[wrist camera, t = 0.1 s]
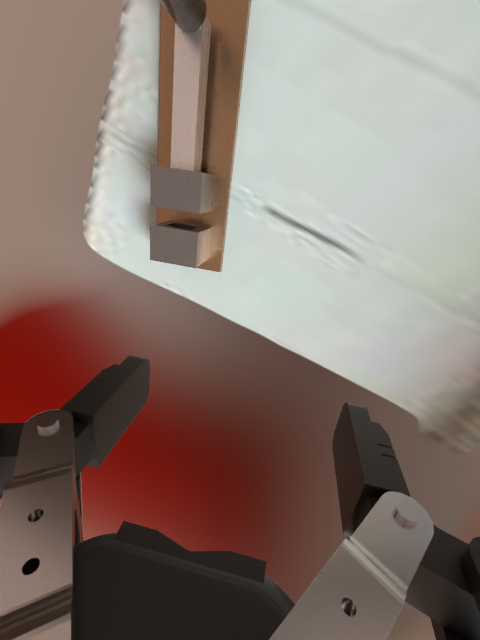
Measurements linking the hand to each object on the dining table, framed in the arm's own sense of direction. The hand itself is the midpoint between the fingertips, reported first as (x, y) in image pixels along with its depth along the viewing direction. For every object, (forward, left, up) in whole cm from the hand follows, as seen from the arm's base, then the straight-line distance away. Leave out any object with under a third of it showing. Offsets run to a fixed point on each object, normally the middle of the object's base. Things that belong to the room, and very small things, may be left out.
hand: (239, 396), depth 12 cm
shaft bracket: (-11, -12, -29) cm, 33 cm away
